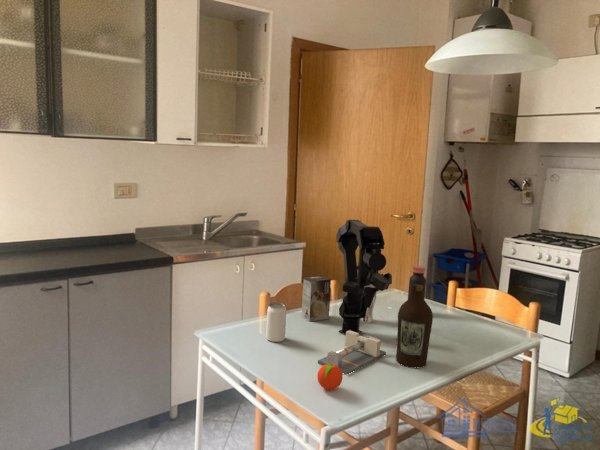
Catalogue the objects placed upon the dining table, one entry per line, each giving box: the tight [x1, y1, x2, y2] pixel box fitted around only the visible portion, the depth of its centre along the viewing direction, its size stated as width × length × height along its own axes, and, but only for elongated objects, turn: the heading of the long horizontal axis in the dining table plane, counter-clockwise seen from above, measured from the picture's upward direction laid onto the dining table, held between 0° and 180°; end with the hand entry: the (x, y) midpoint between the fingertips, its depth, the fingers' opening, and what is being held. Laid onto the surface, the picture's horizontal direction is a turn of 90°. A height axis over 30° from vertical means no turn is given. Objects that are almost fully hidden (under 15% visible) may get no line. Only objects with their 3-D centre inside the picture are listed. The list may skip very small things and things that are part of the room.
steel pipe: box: [326, 335, 379, 367], centre depth 156 cm, size 22×4×4 cm, turn 140°
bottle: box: [407, 265, 427, 301], centre depth 205 cm, size 7×7×20 cm
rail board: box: [317, 347, 387, 375], centre depth 156 cm, size 22×11×1 cm, turn 140°
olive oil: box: [395, 284, 434, 369], centre depth 155 cm, size 11×11×25 cm
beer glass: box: [360, 293, 377, 324], centre depth 193 cm, size 7×7×15 cm
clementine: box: [316, 363, 343, 391], centre depth 135 cm, size 8×7×7 cm
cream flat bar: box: [344, 330, 382, 357], centre depth 159 cm, size 2×12×5 cm, turn 50°
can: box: [265, 302, 287, 343], centre depth 169 cm, size 6×6×12 cm
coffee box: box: [301, 275, 332, 322], centre depth 193 cm, size 9×6×16 cm
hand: (363, 309), depth 165 cm, fingers open, 5 cm apart
